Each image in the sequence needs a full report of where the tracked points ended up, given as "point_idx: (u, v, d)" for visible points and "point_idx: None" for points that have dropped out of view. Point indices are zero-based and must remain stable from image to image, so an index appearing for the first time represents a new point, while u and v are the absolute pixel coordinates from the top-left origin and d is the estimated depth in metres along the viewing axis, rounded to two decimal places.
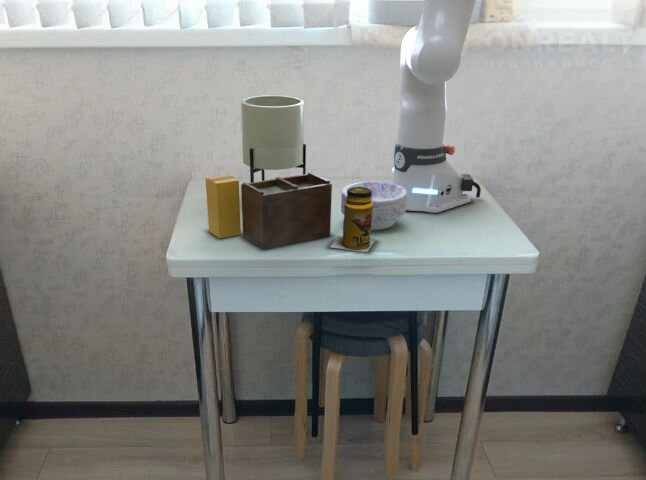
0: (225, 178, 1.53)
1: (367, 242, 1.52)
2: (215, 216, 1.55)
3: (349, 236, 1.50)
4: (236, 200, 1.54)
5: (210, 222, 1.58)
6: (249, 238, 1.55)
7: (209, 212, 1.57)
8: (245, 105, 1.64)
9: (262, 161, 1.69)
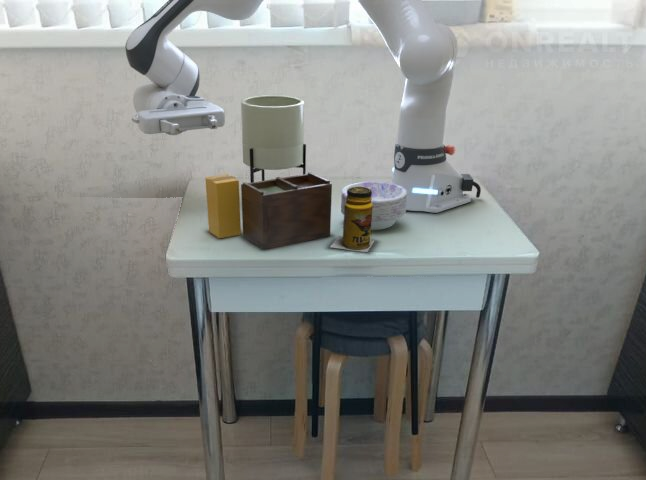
0: (225, 178, 1.53)
1: (367, 242, 1.52)
2: (215, 216, 1.55)
3: (349, 236, 1.50)
4: (236, 200, 1.54)
5: (210, 222, 1.58)
6: (249, 238, 1.55)
7: (209, 212, 1.57)
8: (245, 105, 1.64)
9: (262, 161, 1.69)
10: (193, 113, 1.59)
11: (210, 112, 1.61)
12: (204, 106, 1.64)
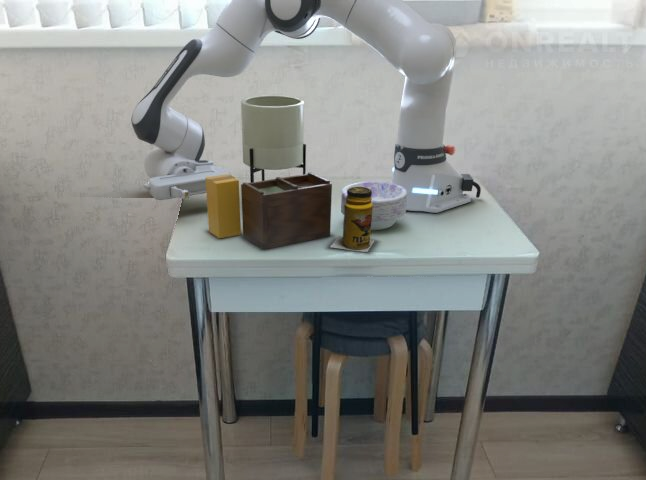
0: (225, 178, 1.53)
1: (367, 242, 1.52)
2: (215, 216, 1.55)
3: (349, 236, 1.50)
4: (236, 200, 1.54)
5: (210, 222, 1.58)
6: (249, 238, 1.55)
7: (209, 212, 1.57)
8: (245, 105, 1.64)
9: (262, 161, 1.69)
10: (202, 178, 1.66)
11: None
12: (212, 170, 1.72)
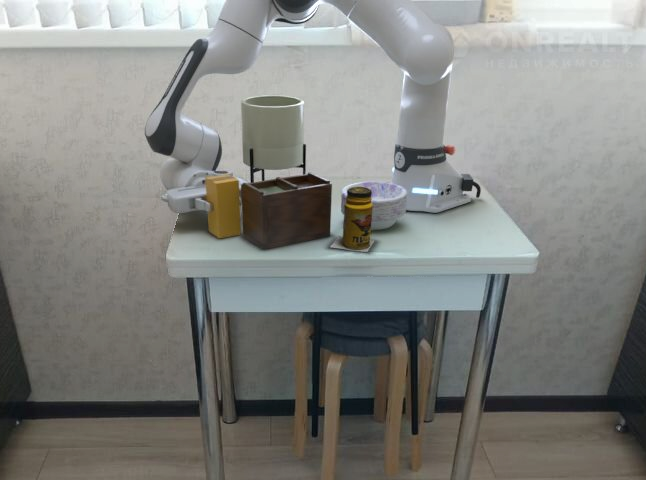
0: (225, 178, 1.53)
1: (367, 242, 1.52)
2: (215, 216, 1.55)
3: (349, 236, 1.50)
4: (236, 200, 1.54)
5: (210, 222, 1.58)
6: (249, 238, 1.55)
7: (209, 212, 1.57)
8: (245, 105, 1.64)
9: (262, 161, 1.69)
10: None
11: (239, 188, 1.60)
12: None
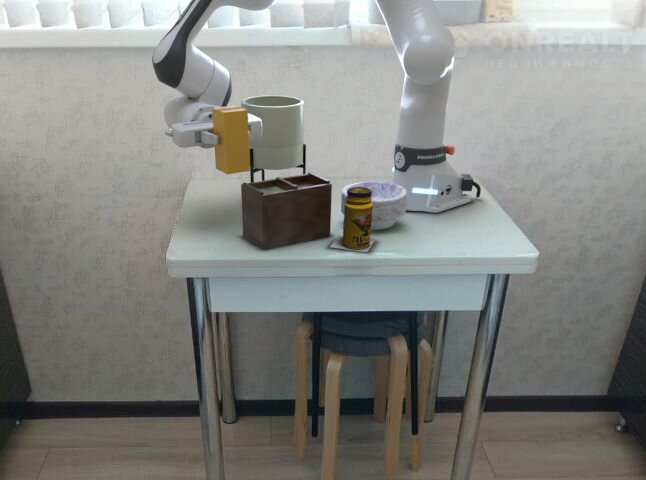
0: (233, 108, 1.44)
1: (367, 242, 1.52)
2: (222, 150, 1.46)
3: (349, 236, 1.50)
4: (245, 132, 1.45)
5: (217, 158, 1.49)
6: (249, 238, 1.55)
7: (216, 146, 1.48)
8: (245, 105, 1.64)
9: (262, 161, 1.69)
10: None
11: None
12: None
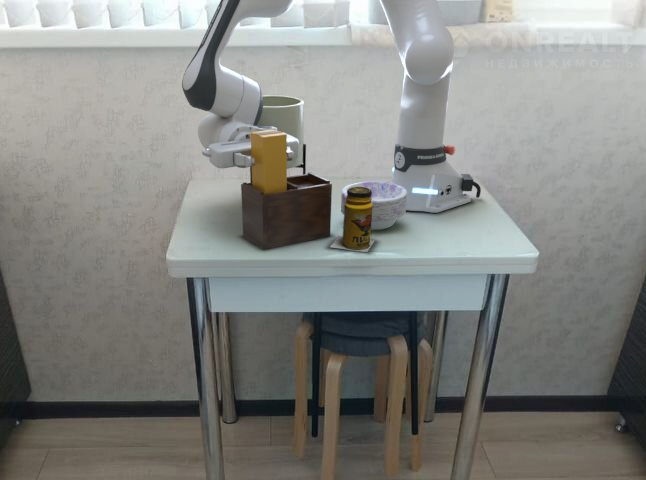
0: (272, 133, 1.43)
1: (367, 242, 1.52)
2: (260, 174, 1.46)
3: (349, 236, 1.50)
4: (283, 156, 1.45)
5: (254, 181, 1.49)
6: (249, 238, 1.55)
7: (253, 170, 1.48)
8: None
9: None
10: None
11: None
12: None
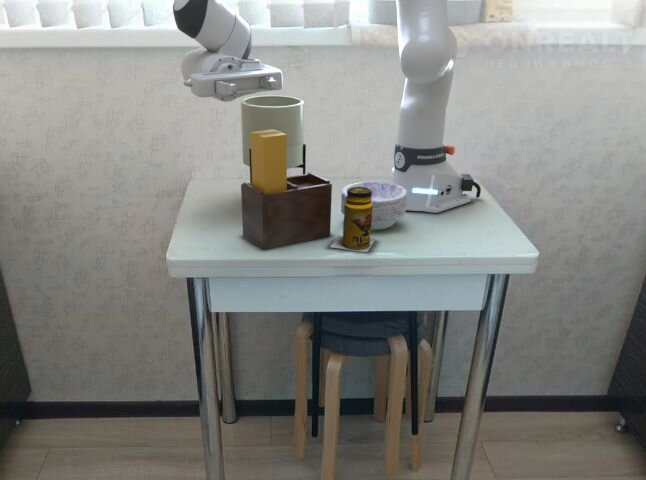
0: (272, 133, 1.43)
1: (367, 242, 1.52)
2: (260, 174, 1.46)
3: (349, 236, 1.50)
4: (283, 156, 1.45)
5: (254, 181, 1.49)
6: (249, 238, 1.55)
7: (253, 170, 1.48)
8: (245, 105, 1.64)
9: None
10: (250, 74, 1.46)
11: (268, 73, 1.48)
12: (260, 68, 1.52)
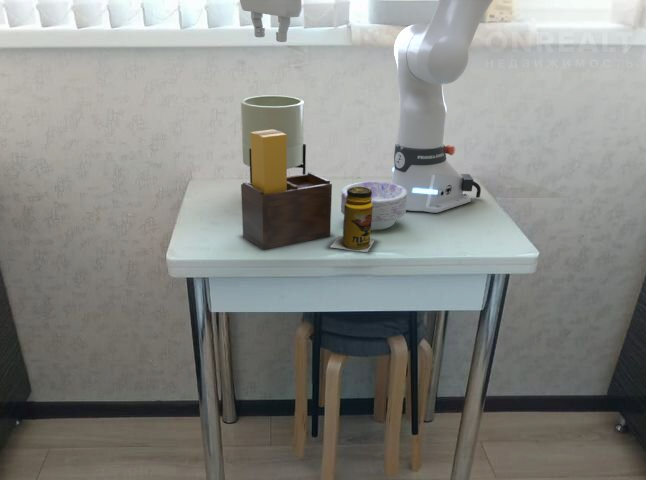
0: (272, 133, 1.43)
1: (367, 242, 1.52)
2: (260, 174, 1.46)
3: (349, 236, 1.50)
4: (283, 156, 1.45)
5: (254, 181, 1.49)
6: (249, 238, 1.55)
7: (253, 170, 1.48)
8: (245, 105, 1.64)
9: None
10: None
11: None
12: None
